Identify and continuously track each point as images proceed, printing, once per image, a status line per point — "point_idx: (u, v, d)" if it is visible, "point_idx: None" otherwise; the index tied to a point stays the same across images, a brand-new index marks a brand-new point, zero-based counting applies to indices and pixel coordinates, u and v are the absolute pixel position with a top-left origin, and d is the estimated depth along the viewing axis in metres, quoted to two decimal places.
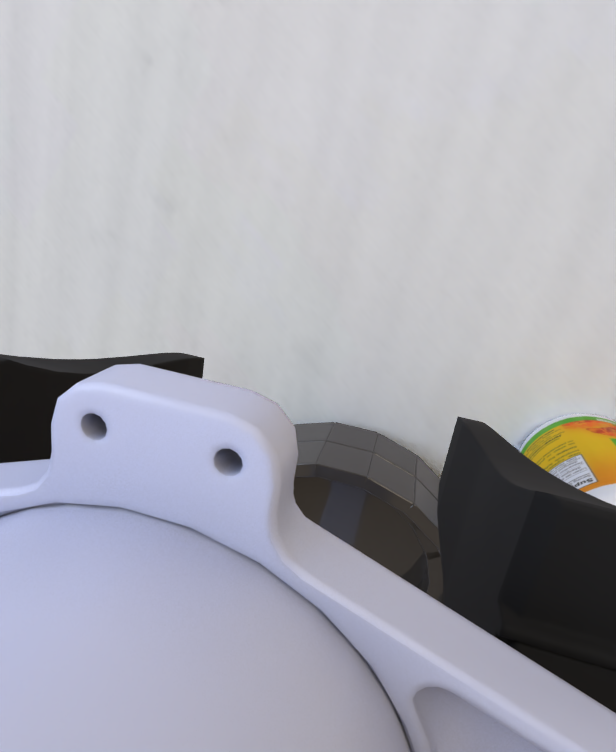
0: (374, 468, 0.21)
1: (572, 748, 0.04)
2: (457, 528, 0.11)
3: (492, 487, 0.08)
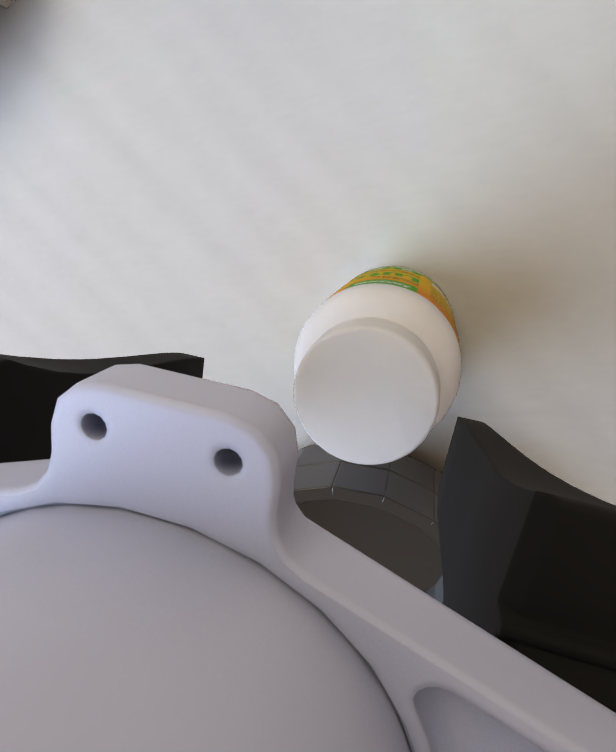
0: None
1: (572, 748, 0.04)
2: (457, 528, 0.11)
3: (493, 487, 0.08)
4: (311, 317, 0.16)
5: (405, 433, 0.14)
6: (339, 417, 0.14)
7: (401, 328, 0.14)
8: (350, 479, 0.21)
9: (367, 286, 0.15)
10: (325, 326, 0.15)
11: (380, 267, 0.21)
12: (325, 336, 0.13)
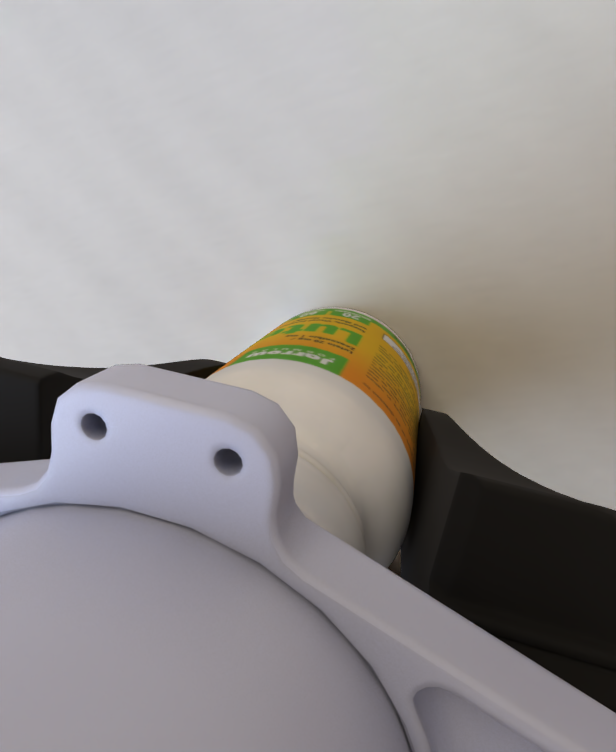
0: None
1: (572, 748, 0.04)
2: (413, 516, 0.11)
3: (437, 474, 0.09)
4: None
5: None
6: None
7: None
8: None
9: (257, 366, 0.09)
10: None
11: (316, 310, 0.15)
12: None
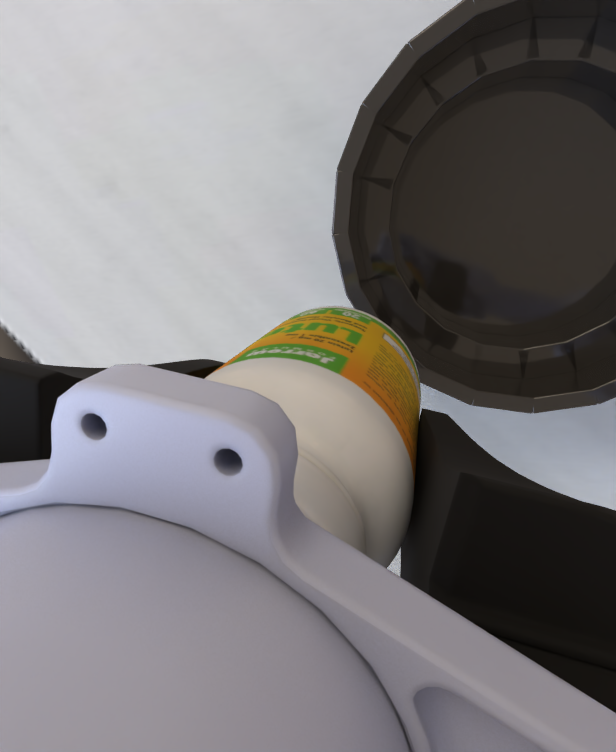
0: None
1: (572, 748, 0.04)
2: (413, 516, 0.11)
3: (437, 473, 0.09)
4: None
5: None
6: None
7: None
8: None
9: (257, 365, 0.09)
10: None
11: (316, 309, 0.15)
12: None
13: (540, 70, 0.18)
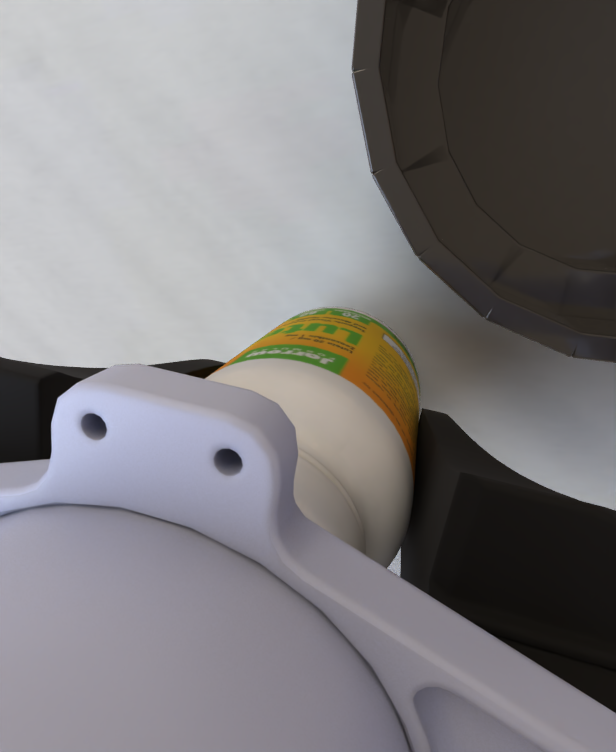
0: None
1: (572, 748, 0.04)
2: (413, 516, 0.11)
3: (437, 473, 0.09)
4: None
5: None
6: None
7: None
8: None
9: (257, 366, 0.09)
10: None
11: (316, 309, 0.15)
12: None
13: None
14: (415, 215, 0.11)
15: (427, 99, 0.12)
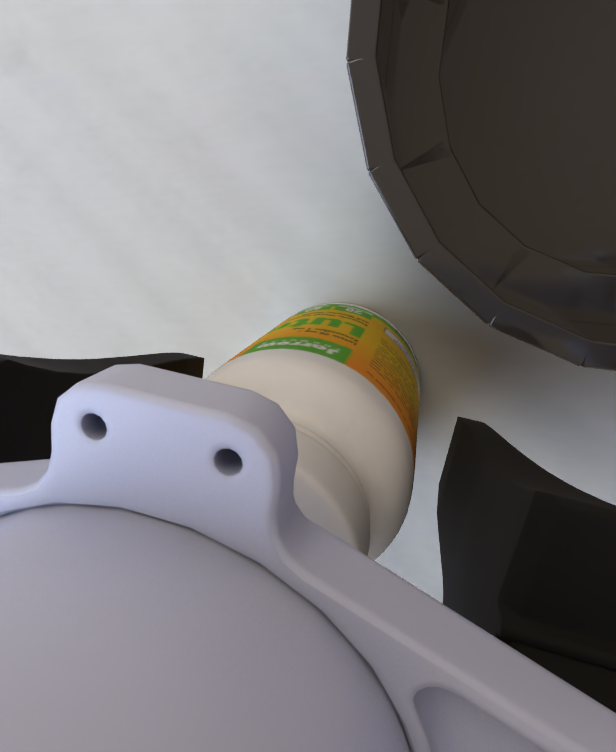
0: None
1: (572, 747, 0.04)
2: (457, 528, 0.11)
3: (492, 487, 0.08)
4: None
5: None
6: None
7: (301, 440, 0.08)
8: None
9: (268, 355, 0.10)
10: None
11: (320, 305, 0.16)
12: None
13: None
14: (414, 216, 0.10)
15: (427, 92, 0.12)
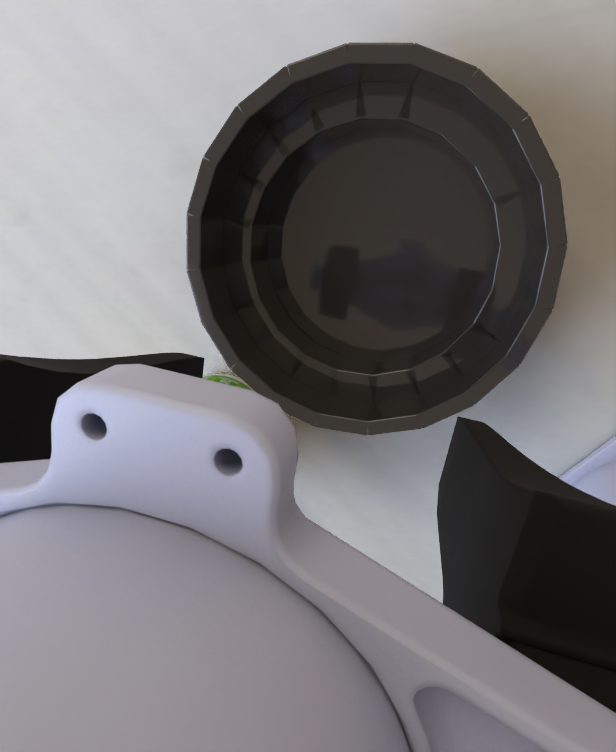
0: None
1: (572, 748, 0.04)
2: (457, 528, 0.11)
3: (492, 487, 0.08)
4: None
5: None
6: None
7: None
8: None
9: None
10: None
11: (209, 375, 0.25)
12: None
13: (377, 125, 0.19)
14: (226, 346, 0.20)
15: (245, 271, 0.21)
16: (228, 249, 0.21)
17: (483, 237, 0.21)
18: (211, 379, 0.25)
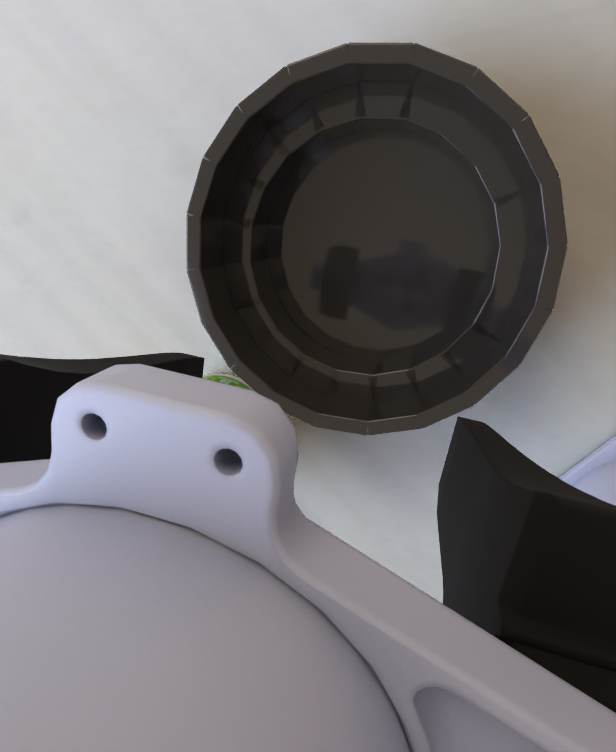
0: None
1: (572, 748, 0.04)
2: (457, 528, 0.11)
3: (492, 487, 0.08)
4: None
5: None
6: None
7: None
8: None
9: None
10: None
11: (209, 375, 0.25)
12: None
13: (377, 125, 0.19)
14: (226, 346, 0.20)
15: (245, 271, 0.21)
16: (228, 249, 0.21)
17: (483, 237, 0.21)
18: (211, 379, 0.25)
